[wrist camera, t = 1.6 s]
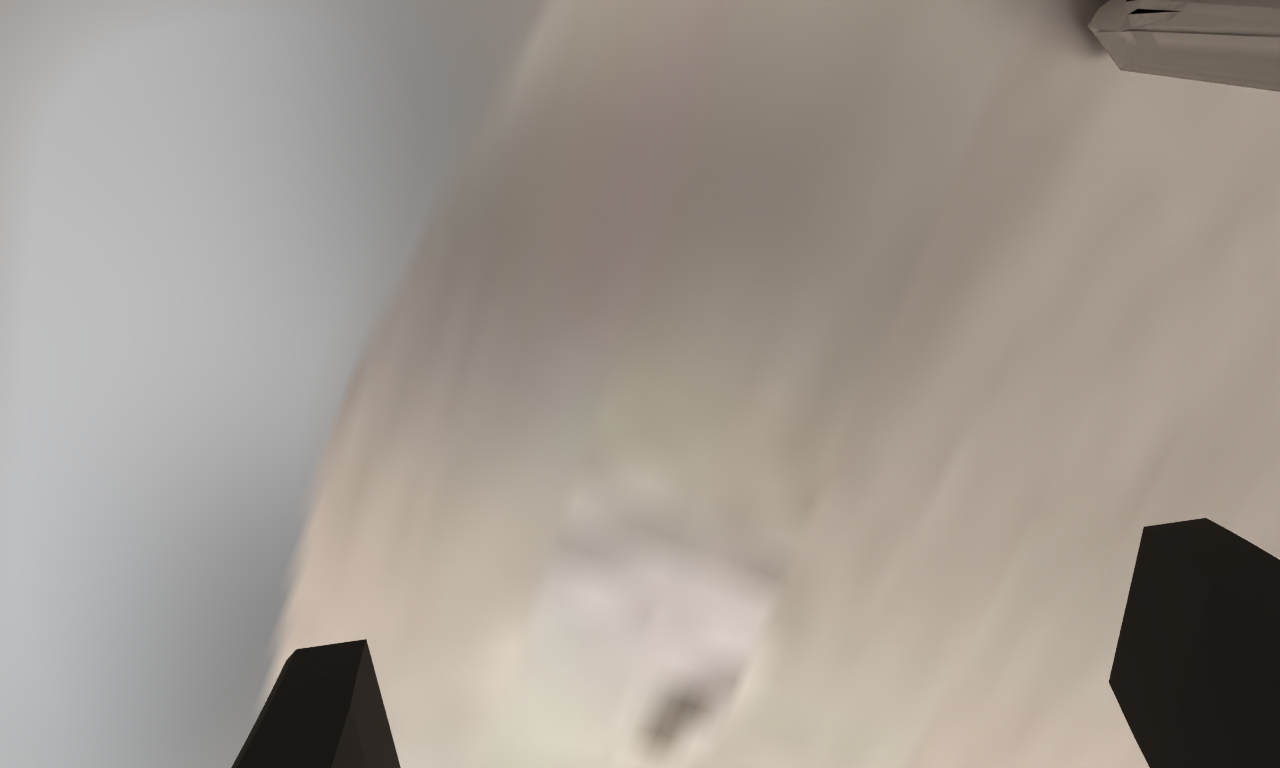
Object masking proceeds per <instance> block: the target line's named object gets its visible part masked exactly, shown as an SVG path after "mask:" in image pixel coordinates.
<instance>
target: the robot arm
mask: <svg viewBox="0 0 1280 768" xmlns="http://www.w3.org/2000/svg"><path fill="white" fill-rule="evenodd" d="M1109 684H1110V686H1111V688H1112V690H1113V692H1114V694H1115V696H1116V699H1117V701H1118V703H1119V705H1120V707H1121V709H1122V712H1123V714H1124V716H1125V718H1126V720H1127V722H1128V725H1129V727H1130V729H1131V731H1132V733H1133V735H1134V737H1135V739H1136V741H1137V743H1138V745H1139V747H1140V749H1141V751H1142V753H1143V755H1144V757H1145V759H1146V761H1147V763H1148V765H1149V767H1150V768H1280V560H1279V559H1277V558H1276V557H1274V556H1272V555H1271V554H1269V553H1267V552H1266V551H1264V550H1262V549H1260V548H1259V547H1257V546H1255V545H1254V544H1252V543H1250V542H1248V541H1247V540H1245V539H1243V538H1241V537H1240V536H1238V535H1236V534H1234V533H1233V532H1231V531H1229V530H1227V529H1225V528H1224V527H1222V526H1220V525H1218V524H1216V523H1214V522H1212V521H1211V520H1209V519H1207V518H1202V519H1195V520H1188V521H1181V522H1175V523H1168V524H1161V525H1154V526H1147V527H1144V529H1143V533H1142V538H1141V542H1140V547H1139V551H1138V555H1137V560H1136V564H1135V569H1134V573H1133V578H1132V582H1131V586H1130V591H1129V595H1128V600H1127V604H1126V608H1125V613H1124V617H1123V622H1122V626H1121V631H1120V635H1119V639H1118V644H1117V648H1116V653H1115V657H1114V662H1113V666H1112V670H1111V675H1110V679H1109ZM232 768H400V764H399V760H398V756H397V753H396V749H395V745H394V741H393V738H392V734H391V730H390V726H389V723H388V719H387V715H386V711H385V708H384V704H383V700H382V696H381V693H380V689H379V685H378V681H377V678H376V674H375V670H374V666H373V663H372V659H371V655H370V651H369V648H368V644H367V640H366V639H365V640H358V641H351V642H344V643H337V644H330V645H323V646H316V647H310V648H303V649H296V650H295V652H294V653H293V654H292V655H291V656H290V657H289V658H288V659H287V660H286V662H285V664H284V666H283V668H282V671H281V673H280V675H279V677H278V679H277V681H276V683H275V685H274V687H273V689H272V691H271V693H270V695H269V697H268V699H267V701H266V703H265V705H264V707H263V709H262V711H261V713H260V715H259V717H258V719H257V721H256V723H255V725H254V726H253V728H252V731H251V732H250V734H249V736H248V738H247V740H246V742H245V744H244V746H243V748H242V749H241V751H240V753H239V755H238V756H237V758H236V760H235V762H234V764H233V766H232Z"/></svg>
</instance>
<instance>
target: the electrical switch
mask: <svg viewBox="0 0 1280 768" xmlns="http://www.w3.org/2000/svg"><path fill="white" fill-rule="evenodd" d="M1087 27H1088V28H1089V29H1090V30H1091V31H1092V32H1093V33H1094V35H1095V36H1096V38H1097V39H1098V40H1099V42H1100V43H1101V44H1102V46H1103V47H1104V48H1105V50H1106V51H1107V53H1108V54H1109V55H1110V57H1111V58H1112V59H1113V61H1114V62H1115V63H1116V65H1117V66H1118V68H1119V69H1120V70H1123V71H1130V72H1138V73H1145V74H1153V75H1160V76H1168V77H1175V78H1182V79H1190V80H1197V81H1205V82H1212V83H1220V84H1227V85H1235V86H1242V87H1249V88H1257V89H1264V90H1272V91H1279V92H1280V0H1109V1H1107V2H1106V3H1105V4H1103V5H1102V6H1101V7H1100V8H1099V9H1098V11H1097V12H1096V14H1095V15H1094V17H1093V18H1092V20H1091V21H1090V23H1089V24H1088V26H1087Z"/></svg>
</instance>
